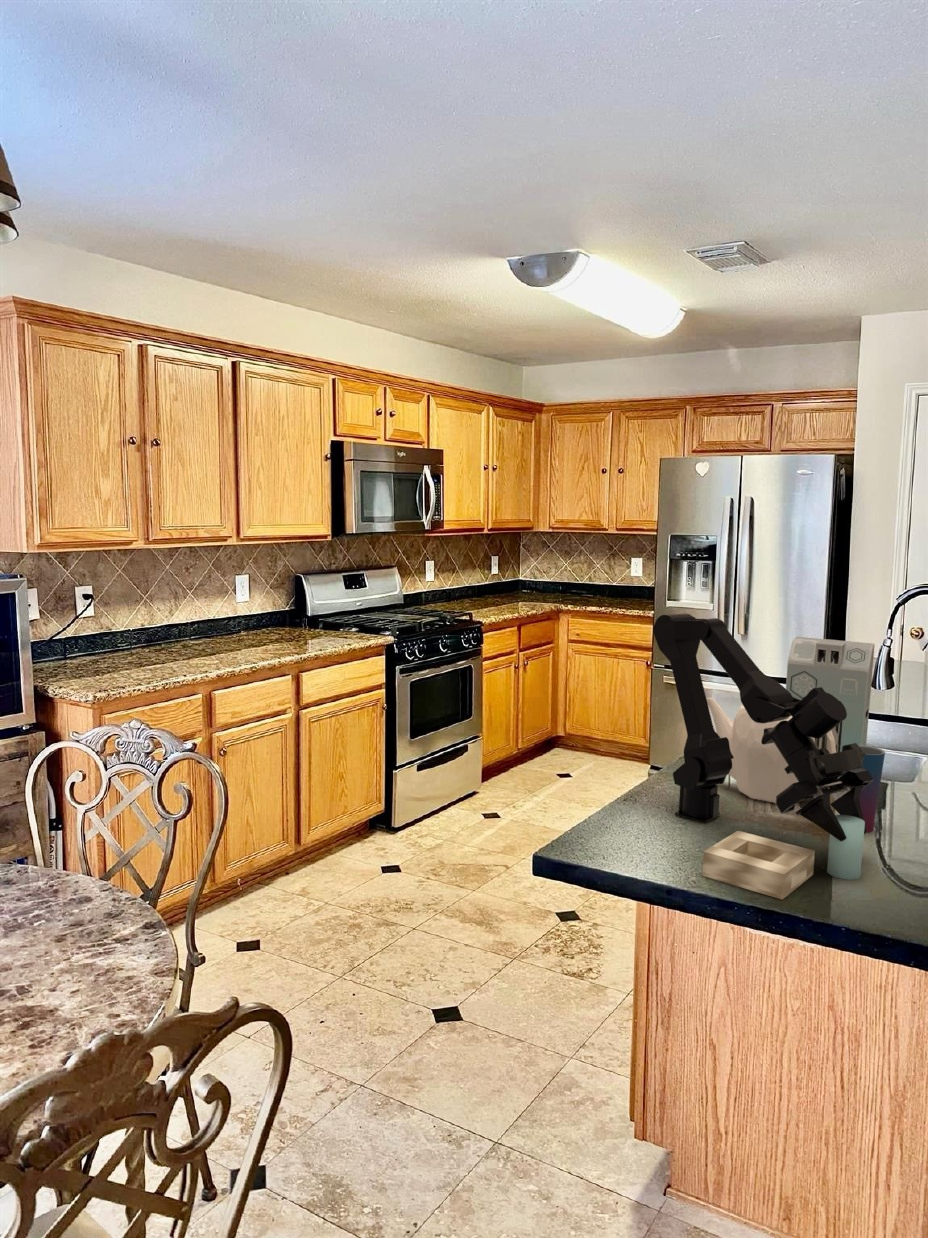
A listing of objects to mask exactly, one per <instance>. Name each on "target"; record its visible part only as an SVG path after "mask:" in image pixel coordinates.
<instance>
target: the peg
mask: <svg viewBox="0 0 928 1238" xmlns="http://www.w3.org/2000/svg"><path fill="white" fill-rule="evenodd" d="M835 816H836V818H837V820H838V821H839V823H840V825H841V827H842V829H843V831H844V833H845V835H846V839H845V840H844V841H839V840H838V839H837V838H835V837H834V836H832V835H831V834H829V839H828V840H829V841H828V842H829V843H828V853H827V854H828V856H827V867H826V872H827V874H829V875H830V876H832V877H834V878H836V879H841V880H846V881H848V880H849V881H854V880H858V879H860V878H861V874H862V863H863V862H862V861H863V859H862V858H863V849H864V836H865V834H864V827H865V822H864V820H862V819H860V818H857V817H854V816H849V815H840V814H835Z"/></svg>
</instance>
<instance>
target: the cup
mask: <svg viewBox="0 0 928 1238" xmlns="http://www.w3.org/2000/svg"><path fill="white" fill-rule="evenodd" d="M858 746H859V747H860V748H861V749H862V751H863V752H864V753H865V759H864V761H862V764H863V767H862V769H865V770H868V772H869V773H870V775H871V776H872V778H873V779H874V781H872V782H871V783H870V784H868V785H867V786H865V787H864V789H863V790H862V791H861V794H860V806H861V810H862V814H863V818H864V821H865V825H866V829H867V833H866V834H869V833H873V831H874V825H875V819H876V812H877V806H878V801H879V793H880V789H881V782H882V774H883V770H884V769H883V768H884V761H885V756H886V751H885V750H884V749H882V748H879V747H875V746H871V745H867V744H866V745H858ZM855 769H859V768H853V770H855ZM849 771H850V770H849ZM844 772H845V773H846V772H848V771H844ZM845 773H844V774H845Z"/></svg>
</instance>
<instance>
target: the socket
mask: <svg viewBox="0 0 928 1238" xmlns="http://www.w3.org/2000/svg"><path fill="white" fill-rule="evenodd" d="M702 854H703V855H702V856H703V859H702V872H701V876H703V877H706V878H709V879H712V880H715V881H719V882H722V883H725V884H729V885H731V886H734V887H740V888H742V889H745V890H748V891H752V892H756V893H759V894H762V895H765V896H769V897H773V898H775V899H777V900H778V899H779V900H781V901H783V900H784V899H785V898H786V897H788V896H789V895H790V894H792V893H793V892H794V891H795V890H796V889H798V888H799V887H800V886H801V885H802V884H803V883H805V882H806V881H807V880H808V879H809V878H811V877H812V876H814V869H815V867H814V866H815V854H816V851H815V850H814V849H809V848H806V847H803V846H798V845H793V844H790V843H786V842H783V841H779V840H775V839H771V838H768V837H763V836H760V835H756V834H752V833H749V832H745V831H742V830H741V831H740V830H737V831H735V832H733V833H732V834H730V835H729V836H727V837H725V838H724V839H721V840H720V841H719V842H717V843H716V844H714V845H712V846H711V847H709V848H707V849H705V850H703V853H702Z"/></svg>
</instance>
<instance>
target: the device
mask: <svg viewBox="0 0 928 1238" xmlns="http://www.w3.org/2000/svg"><path fill="white" fill-rule="evenodd" d="M874 656H875V643H871V642H870V643H869V642H859V641H852V640H851V641H850V640H849V641H848V640H838V639H829V638H828V639H827V638H815V637H807V636H806V637H805V636H795V637H793V639H792V642H791V645H790V651H789V653H788V658H787V659H788V660H787V666H786V681H785V689H787V690H788V691H789V692H790V693H791V695H792V696H793V697H795V698H798V699H800V700H802V699H803V698H804V697H805V696H807V694H808V693H809V692H810V691H811V690H812V689H813V688H817V687H822V688H823V689H824V691H825V692H827V693H829V694H831V695H833V696H834V697H835V698H837V699H838V700H839V701H841V702H842V704H843V705H844V707H845V709H846V712H847V717H846V719H845V720H843V721H842V722H841V723H839V724H838V725H837V726H836V727H834V728H833V729H832V730H831V731H832V734H833V737H834V740H835V747H836V753H837V752H841V751H842V747H843V746H844V745H848V744H852V743H857V745H866V746H867V739H868V728H869V727H868V726H869V716H870V715H869V714H870V706H871V705H870V704H871V694H872V693H871V692H872V679H873V667H874V658H875V657H874ZM815 744H816V745H817V747H818V748H819V749H821V748H825V749H827V750H828V751H829V750H830V748H829V739H828V737H827V735H824V736H823V737H822V738H819V739H817V738H815ZM840 777H841V776H840ZM838 778H839V777H838ZM838 778H836V779H838Z"/></svg>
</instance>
